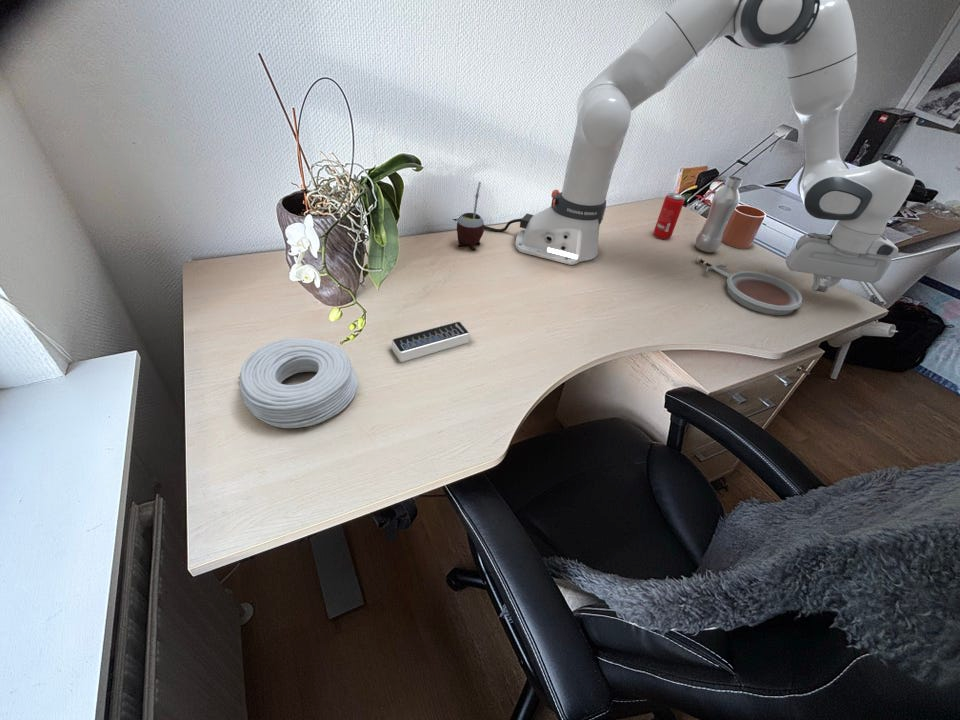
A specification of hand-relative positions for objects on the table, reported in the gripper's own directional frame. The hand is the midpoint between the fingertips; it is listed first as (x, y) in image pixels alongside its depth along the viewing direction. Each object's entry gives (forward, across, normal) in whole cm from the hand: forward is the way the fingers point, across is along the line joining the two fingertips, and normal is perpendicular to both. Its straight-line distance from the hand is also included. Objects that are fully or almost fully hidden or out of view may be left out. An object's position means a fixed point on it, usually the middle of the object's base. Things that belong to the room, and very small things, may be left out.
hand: (818, 290), depth 112 cm
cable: (+2, -102, -63) cm, 120 cm away
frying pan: (+2, -18, 0) cm, 18 cm away
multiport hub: (+2, -86, -45) cm, 97 cm away
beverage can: (+2, -34, +24) cm, 42 cm away
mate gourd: (+2, -88, -1) cm, 88 cm away
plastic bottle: (+2, -23, +19) cm, 30 cm away
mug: (+2, -14, +29) cm, 32 cm away
